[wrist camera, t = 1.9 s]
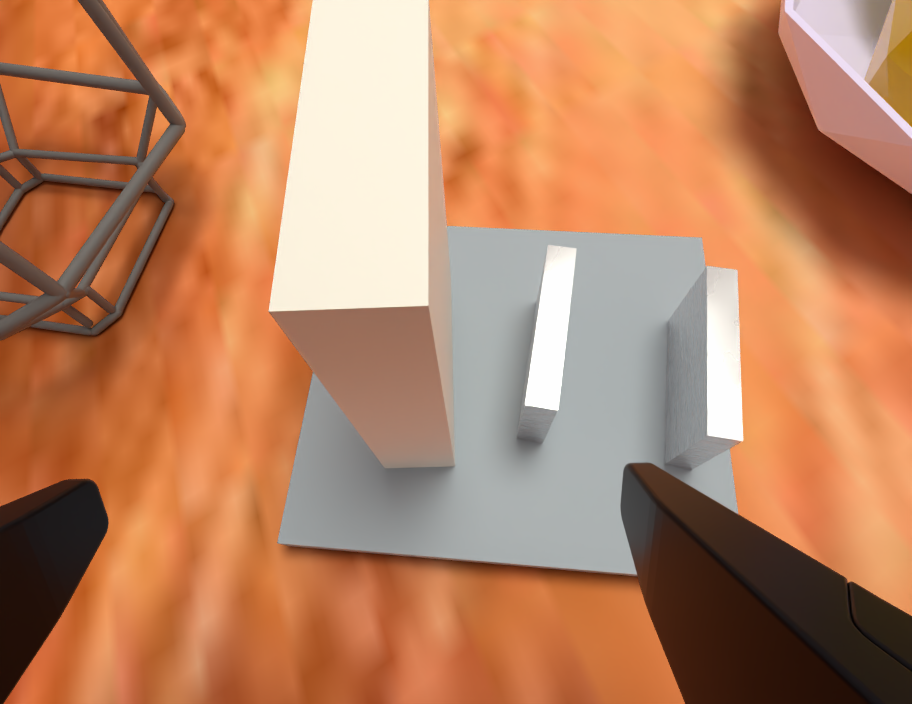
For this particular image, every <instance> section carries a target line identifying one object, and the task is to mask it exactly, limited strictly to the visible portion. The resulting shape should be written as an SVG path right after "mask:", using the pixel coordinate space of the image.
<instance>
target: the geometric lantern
mask: <svg viewBox="0 0 912 704" xmlns="http://www.w3.org/2000/svg"><path fill="white" fill-rule="evenodd" d="M78 1H79V3H80V4H81V5H82V7H83V8H84V9H85V11H86V12H87V13H88V15H89V16H90V17H91V19H92V20H93V21H94V23H95V24H96V25H97V27H98V28H99V29H100V31H101V32H102V33H103V35H104V36H105V37H106V39H107V40H108V41H109V43H110V44H111V45H112V47H113V48H114V49H115V51H116V52H117V53H118V55H119V56H120V57H121V59H122V60H123V61H124V63H125V64H126V65H127V67H128V68H129V69H130V71H131V72H132V73H133V75H134V76H135V77H136V79H137V80H130V79H122V78H115V77H107V76H100V75H92V74H84V73H77V72H69V71H62V70H54V69H46V68H39V67H31V66H24V65H16V64H8V63H1V62H0V75H6V76H13V77H20V78H28V79H35V80H42V81H50V82H57V83H64V84H72V85H79V86H86V87H94V88H101V89H108V90H116V91H123V92H130V93H138V94H145V95H149V100H148V105H147V110H146V115H145V119H144V124H143V129H142V134H141V139H140V143H139V148H138V153H137V157H126V156H112V155H97V154H83V153H69V152H55V151H40V150H26V149H19V147H18V143H17V140H16V137H15V133H14V130H13V126H12V123H11V119H10V116H9V113H8V109H7V106H6V102H5V99H4V95H3V92H2V88H1V85H0V118H1V121H2V125H3V128H4V131H5V135H6V138H7V142H8V145H9V148H10V150H9V151H6V152H3V153H0V163H1V162H4V161H7V160H10V159H13V158H17V159H18V160H19V162H20V163H21V164H22V165H23V166H24V167H25V168H26V169H27V170H28V171H29V172H30V173H31V174H32V175H33V176H34V178H32V179H30V180H29V181H27V182H25V183H23V184H22V185H21V184H20V183H19V182H18V181H17V180H16V179H15V178H14V177H13V176H12V175H11V174H10V173H9V172H8V171H7V170H6V169H5V168H4V167H3V166H2V165H0V175H1V176H2V177H3V178H4V179H5V180H6V181H7V182H8V183H9V184H10V185H11V186H12V187H14V188H15V190H14V192H13V193H12V195H11V197H10V198H9V200H8V201H7V203H6V204H5V206H4V208H3V209H2V211H1V212H0V230H1V229H2V227H3V226H4V224H5V222H6V221H7V219H8V218H9V216H10V214H11V213H12V211H13V210H14V208H15V206H16V205H17V203H18V202H19V200H20V198H21V197H22V195H23V194H24V193H25V192H27V191H29V190H30V189H32V188H34V187H35V186H37V185H39V184H40V183H42V182H44V181H51V182H60V183H69V184H79V185H88V186H97V187H106V188H115V189H123V191H122V192H121V194H120V195H119V196H118V198H117V199H116V200H115V202H114V203H113V205H112V206H111V207H110V209H109V210H108V212H107V213H106V214H105V216H104V217H103V219H102V220H101V221H100V223H99V224H98V226H97V227H96V228H95V230H94V231H93V233H92V234H91V235H90V237H89V238H88V239H87V241H86V242H85V244H84V245H83V246H82V248H81V249H80V251H79V252H78V253H77V255H76V256H75V258H74V259H73V260H72V262H71V263H70V265H69V266H68V267H67V269H66V270H65V271H64V273H63V274H62V276H61V277H60V278H59V280H58V281H55V280H54V279H52V278H51V277H50V276H48V275H47V274H45V273H44V272H43V271H41V270H40V269H39V268H37V267H36V266H34V265H33V264H32V263H30V262H29V261H27V260H26V259H25V258H23V257H22V256H20V255H19V254H18V253H16V252H15V251H13V250H12V249H11V248H9V247H8V246H6V245H5V244H4V243H2V242H1V241H0V263H2V264H3V265H5V266H6V267H8V268H9V269H10V270H12V271H13V272H15V273H16V274H18V275H19V276H21V277H22V278H24V279H25V280H27V281H28V282H30V283H31V284H33V285H34V286H36V287H37V288H39V289H40V290H41V291H43V292H44V294H43V295H41V296H31V295H23V294H15V293H7V292H0V301H8V302H16V303H24V304H26V305H25V306H23V307H21V308H20V309H18V310H16V311H15V312H13V313H11V314H10V315H8V316H6V315H0V340H4V339H6V338H8V337H10V336H12V335H14V334H16V333H18V332H20V331H22V330H24V329H26V328H28V327H33V328H40V329H47V330H55V331H62V332H69V333H76V334H83V335H94V336H95V335H98V334H99V333H101V332H102V331H103V330H104V329H106V328H107V327H108V326H109V325H110V324H112V323H113V322H114V321H115V320H117V319H118V318H119V317H120V316H121V315H122V312H123V310H124V308H125V305H126V303H127V301H128V299H129V297H130V295H131V293H132V291H133V289H134V287H135V285H136V282H137V280H138V278H139V276H140V274H141V272H142V270H143V268H144V266H145V264H146V262H147V259H148V257H149V255H150V253H151V251H152V249H153V247H154V245H155V243H156V241H157V239H158V236H159V234H160V232H161V230H162V228H163V226H164V224H165V222H166V220H167V218H168V216H169V213H170V211H171V209H172V207H173V204H174V200H173V199H172V198H171V197H170V196H169V195H168V194H167V193H165V192H164V191H163V189H162V188H161V187H160V186H159V185H158V183H157V182H156V181H155V180H154V178H153V175H154V174H155V172H156V171H157V170H158V168H159V167H160V166H161V164H162V163H163V161H164V160H165V159H166V157H167V156H168V154H169V153H170V152H171V150H172V149H173V147H174V146H175V145H176V143H177V142H178V140H179V139H180V138H181V136H182V135H183V133H184V132H185V127H186V123H185V121H184V118H183V116H182V115H181V113H180V111H179V110H178V109H177V107H176V106H175V104H174V103H173V101H172V100H171V98H170V97H169V96H168V94H167V93H166V91H165V90H164V89H163V88H162V87H161V86H160V85H159V84H158V82H157V81H156V80H155V78H154V77H153V75H152V74H151V72H150V71H149V69H148V68H147V66H146V65H145V63H144V62H143V60H142V59H141V57H140V56H139V54H138V53H137V51H136V50H135V48H134V47H133V45H132V44H131V42H130V41H129V39H128V38H127V36H126V35H125V33H124V32H123V30H122V29H121V27H120V26H119V24H118V23H117V21H116V20H115V18H114V17H113V15H112V14H111V12H110V11H109V9H108V8H107V7H106V5H105V4H104V2H103V1H102V0H78ZM157 107H158V108H159V110H160V111H161V112H162V114H163V115H164V116H165V118H166V119H167V120H168V122H169V123H170V125H169V127H168V128H167V129H166V131H165V132H164V134H163V135H162V136H161V138H160V139H159V141H158V142H157V143H156V145H155V146H154V148H153V149H152V150H151V152H150V153H149V155H148V156H147V157H146V155H147V150H148V145H149V141H150V136H151V132H152V127H153V122H154V118H155V113H156V108H157ZM26 157H28V158H42V159H55V160H69V161H83V162H97V163H111V164H125V165H135V166H136V167H137V169H138V170H137V171H136V173H135V174H134V175H133V177H132V178H131V180H130V181H129V182H119V181H110V180H100V179H91V178H82V177H72V176H63V175H54V174H41V173H40V172H39V171H38V170H37V169H36V167H35V166H34V165H33V164H32V163H31V162H30V161H29V160H28V159H27V158H26ZM147 184H148V185H147ZM143 192H152V193H156V194H157V195H158V196H159V198H160V199H161V200H162V201H163V202H165V204H164V206H163V208H162V210H161V212H160V214H159V217H158V219H157V221H156V223H155V225H154V227H153V229H152V231H151V233H150V235H149V237H148V239H147V241H146V243H145V245H144V247H143V249H142V251H141V253H140V256H139V258H138V260H137V262H136V264H135V266H134V268H133V270H132V272H131V274H130V276H129V278H128V280H127V282H126V284H125V286H124V288H123V290H122V292H121V294H120V297H119V299H118V301H117V303H116V305H115V307H114V306H113V305H112V304H111V303H109V302H108V301H107V300H106V299H104V298H103V297H102V296H101V295H100V294H98V293H97V292H96V291H95V290H94V289H92V288H91V287H90V285H91V283H92V282H93V280H94V278H95V276H96V275H97V273H98V271H99V269H100V267H101V266H102V264H103V262H104V260H105V259H106V257H107V255H108V253H109V251H110V250H111V248H112V246H113V244H114V242H115V241H116V239H117V237H118V235H119V234H120V232H121V230H122V228H123V226H124V225H125V223H126V221H127V219H128V218H129V216H130V214H131V212H132V210H133V209H134V207H135V205H136V203H137V202H138V200H139V198H140V196H141V194H142V193H143ZM85 272H86V273H85ZM83 275H84V276H83ZM82 277H83V278H82ZM81 278H82V280H81V281H80V279H81ZM79 281H80V283H79V285H78V287H77V288H75V287H76V285H77V284H78V282H79ZM85 296H88V297H89V298H90V299H91V300H93V301H94V302H95V303H96V304H98V305H99V306H100V307H101V308H103V309H104V310H105V311H107V312H108V313H110V314H109V315H107V316H106V317H105V318H104V319H102V320H101V321H100V322H99V323H98V324H96V325H95V326H94V327H93V328H91V327H92V325H93V322H92V320H90V319H89V318H88V317H86V316H85V315H83V314H82V313H81V312H79V311H78V310H77V309H75V308H74V307H72V306H71V305H72V304H73V303H75V302H77V301H78V300H80V299H82V298H83V297H85ZM61 310H62V311H63V312H65V313H66V314H68V315H69V316H71V317H72V318H73V319H75V320H76V321H78V322H79V323H81V324H82V325H83V326H78V325H70V324H63V323H56V322H49V321H42V320H43V319H45V318H47V317H49V316H51V315H53V314H55V313H57V312H59V311H61Z"/></svg>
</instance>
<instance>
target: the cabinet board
mask: <svg viewBox="0 0 912 704" xmlns="http://www.w3.org/2000/svg"><path fill="white" fill-rule="evenodd" d="M447 235H448V247H449V260H450V272H451V296H452V343H453V390H454V437H455V466H450V467H416V468H384V467H383V465H382V464H381V463H380V461H379V460H378V459H377V457H376V456H375V455H374V453H373V452H372V450H371V449H370V448H369V446H368V445H367V444H366V442H365V441H364V440H363V438H362V437H361V436H360V434H359V433H358V432H357V430H356V429H355V427H354V426H353V425H352V423H351V422H350V421H349V419H348V418H347V417H346V415H345V414H344V413H343V411H342V410H341V409H340V407H339V406H338V405H337V403H336V402H335V400H334V399H333V398H332V396H331V395H330V394H329V392H328V391H327V390H326V388H325V387H324V386H323V384H322V383H321V382H320V380H319V379H318V377H317V376H316V375H315V373H314V372H313V375H312V379H311V384H310V389H309V394H308V399H307V403H306V408H305V413H304V418H303V422H302V427H301V432H300V437H299V442H298V446H297V451H296V456H295V461H294V465H293V470H292V475H291V480H290V485H289V489H288V494H287V499H286V504H285V508H284V513H283V518H282V523H281V528H280V532H279V537H278V542H277V543H278V544H283V545H287V546H295V547H307V548H318V549H330V550H341V551H353V552H364V553H375V554H387V555H398V556H410V557H421V558H433V559H444V560H456V561H467V562H479V563H490V564H502V565H513V566H524V567H536V568H547V569H559V570H570V571H582V572H593V573H605V574H616V575H628V576H637V572H636V569H635V565H634V561H633V558H632V554H631V551H630V547H629V543H628V540H627V536H626V532H625V529H624V525H623V521H622V517H621V510H620V503H621V491H622V479H623V470H624V467H625V465H626V464H627V463H640V462H649V463H652V464H654V465H656V466H658V467H659V468H661V469H663V470H664V471H666V472H668V473H669V474H671V475H673V476H674V477H676V478H678V479H680V480H681V481H683V482H685V483H686V484H688V485H690V486H691V487H693V488H695V489H696V490H698V491H700V492H701V493H703V494H705V495H707V496H708V497H710V498H712V499H713V500H715V501H717V502H718V503H720V504H722V505H723V506H725V507H727V508H729V509H730V510H732V511H734V512H735V513H737V514H738V509H737V501H736V494H735V486H734V478H733V471H732V463H731V456H730V449H728V450H726V451H725V452H723V453H721V454H719V455H717V456H716V457H714V458H712V459H710V460H709V461H707V462H705V463H703V464H701V465H700V466H698V467H696V468H694V469H693V470H690V469H685V468H679V467H673V466H667V465H664V438H665V404H666V370H667V335H668V320H669V319H670V317H671V316H672V314H673V313H674V311H675V310H676V309H677V307H678V306H679V304H680V303H681V302H682V300H683V299H684V297H685V296H686V295H687V293H688V292H689V290H690V289H691V288H692V286H693V285H694V283H695V282H696V280H697V279H698V278H699V276H700V275H701V273H702V272H703V271H704V269H705V268H706V266H705V258H704V251H703V243H702V238H697V237H675V236H653V235H632V234H610V233H588V232H566V231H544V230H522V229H500V228H478V227H457V226H447ZM548 245H554V246H562V247H569V248H577V250H576V259H575V267H574V276H573V285H572V293H571V302H570V311H569V319H568V328H567V337H566V345H565V354H564V362H563V371H562V380H561V388H560V397H559V406H558V411H557V413H556V416H555V418H554V420H553V422H552V425H551V427H550V429H549V431H548V433H547V436H546V438H545V440H544V442H543V444H541V443H536V442H530V441H524V440H518V439H516V437H517V430H518V423H519V416H520V409H521V402H522V395H523V389H524V382H525V375H526V368H527V361H528V354H529V347H530V341H531V334H532V327H533V320H534V313H535V306H536V300H537V295H538V291H539V286H540V281H541V276H542V271H543V266H544V262H545V257H546V252H547V247H548Z"/></svg>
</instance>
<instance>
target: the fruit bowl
mask: <svg viewBox="0 0 912 704" xmlns="http://www.w3.org/2000/svg"><path fill="white" fill-rule="evenodd" d="M778 34H779V37H780V39H781V41H782V44H783V46H784V49H785V51H786V53H787V56H788V58H789V61H790V63H791V65H792V68H793V70H794V73H795V75H796V77H797V80H798V82H799V85H800V87H801V89H802V92H803V94H804V97H805V99H806V101H807V104H808V106H809V109H810V111H811V114H812V116H813V118H814V121H815V123H816V126H817V128H818V130H819V131H820V132H822V133H823V134H825V135H826V136H828V137H829V138H831V139H832V140H834V141H835V142H836V143H838V144H839V145H841V146H842V147H844V148H845V149H847V150H848V151H850V152H851V153H852V154H854V155H855V156H857V157H858V158H860V159H861V160H863V161H864V162H866V163H867V164H869V165H870V166H871V167H873V168H874V169H876V170H877V171H879V172H880V173H882V174H883V175H885V176H886V177H888V178H889V179H890V180H892V181H893V182H895V183H896V184H898V185H899V186H901V187H902V188H904V189H905V190H907V191H908V192H909V193H911V194H912V0H781V9H780V19H779V30H778Z"/></svg>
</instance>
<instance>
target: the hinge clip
mask: <svg viewBox="0 0 912 704" xmlns="http://www.w3.org/2000/svg"><path fill="white" fill-rule="evenodd" d="M576 250H577V248H569V247H562V246H554V245H548V247H547V252H546V257H545V262H544V266H543V271H542V276H541V281H540V286H539V291H538V295H537V300H536V306H535V313H534V320H533V327H532V334H531V341H530V347H529V354H528V361H527V368H526V375H525V382H524V389H523V395H522V402H521V409H520V416H519V423H518V430H517V437H516V439H518V440H524V441H530V442H536V443H541V444H543V442H544V440H545V438H546V436H547V433H548V431H549V429H550V427H551V425H552V422H553V420H554V418H555V416H556V413H557V411H558V406H559V397H560V388H561V380H562V371H563V362H564V354H565V345H566V337H567V328H568V319H569V311H570V302H571V293H572V285H573V276H574V267H575V259H576ZM742 441H743V427H742V396H741V366H740V335H739V304H738V273H737V270H734V269H727V268H719V267H712V266H706V268H705V269H704V271H703V272H702V273H701V275H700V276H699V278H698V279H697V280H696V282H695V283H694V285H693V286H692V288H691V289H690V290H689V292H688V293H687V295H686V296H685V297H684V299H683V300H682V302H681V303H680V304H679V306H678V307H677V309H676V310H675V311H674V313H673V314H672V316H671V317H670V319H669V320H668V335H667V370H666V404H665V438H664V465H667V466H673V467H679V468H685V469H690V470H693V469H694V468H696V467H698V466H700V465H701V464H703V463H705V462H707V461H709V460H710V459H712V458H714V457H716V456H717V455H719V454H721V453H723V452H725V451H726V450H728V449H730V448H732V447H733V446H735V445H737V444H739V443H740V442H742Z"/></svg>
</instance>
